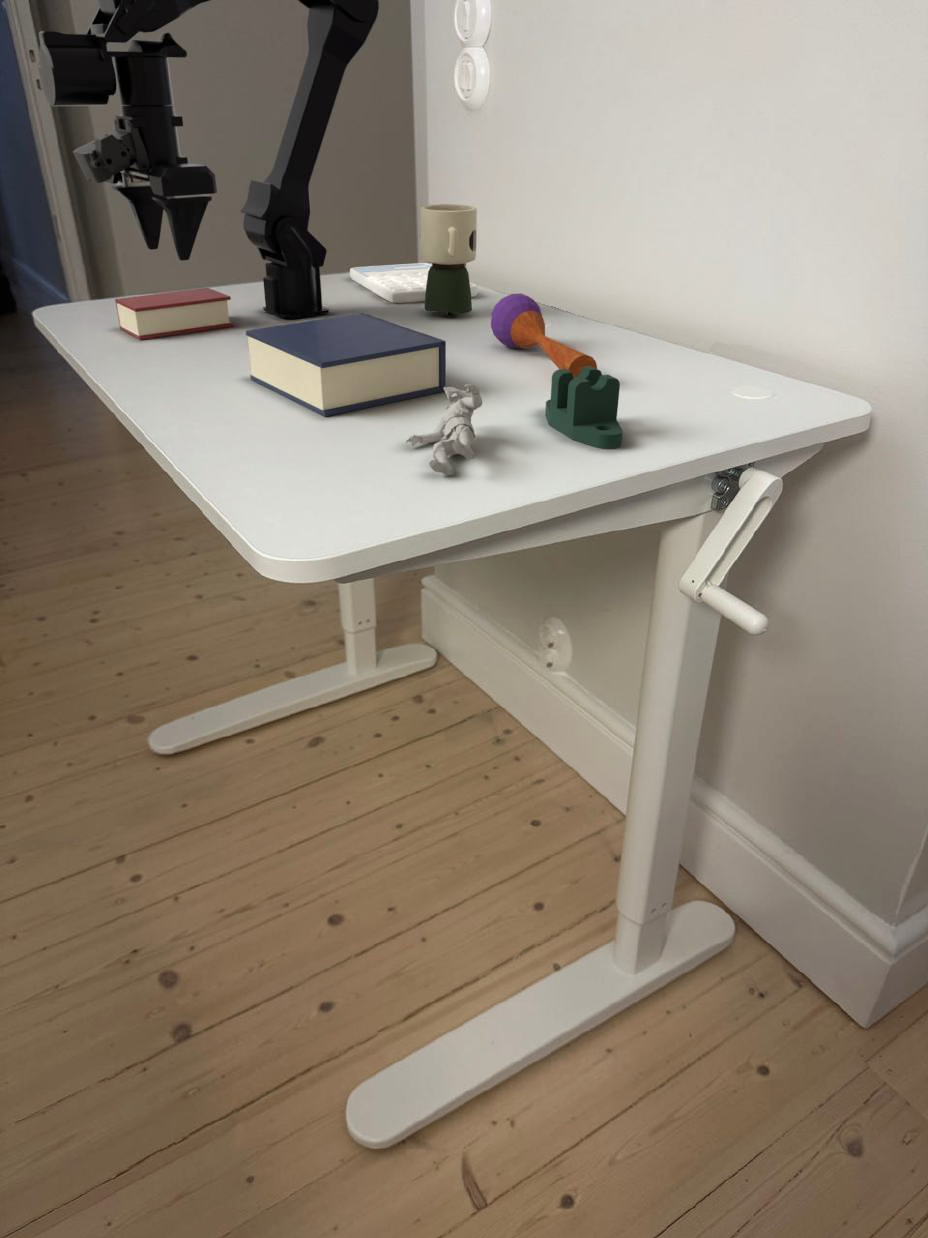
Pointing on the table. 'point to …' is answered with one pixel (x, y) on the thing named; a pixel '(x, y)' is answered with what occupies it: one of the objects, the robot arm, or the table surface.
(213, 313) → the small book
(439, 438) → the soldier figure
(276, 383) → the big book
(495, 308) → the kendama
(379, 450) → the table surface
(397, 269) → the calculator
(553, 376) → the mount
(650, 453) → the table surface
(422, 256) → the character mug
